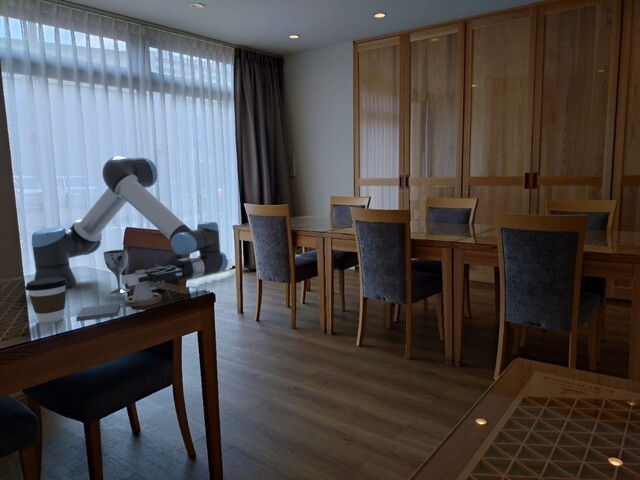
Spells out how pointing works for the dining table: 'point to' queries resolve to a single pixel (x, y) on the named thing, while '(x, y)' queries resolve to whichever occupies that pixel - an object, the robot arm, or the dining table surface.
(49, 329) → the dining table surface
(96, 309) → the rubber mat
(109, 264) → the wine glass
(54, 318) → the coffee cup
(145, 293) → the flask
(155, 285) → the pocket watch
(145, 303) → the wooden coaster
